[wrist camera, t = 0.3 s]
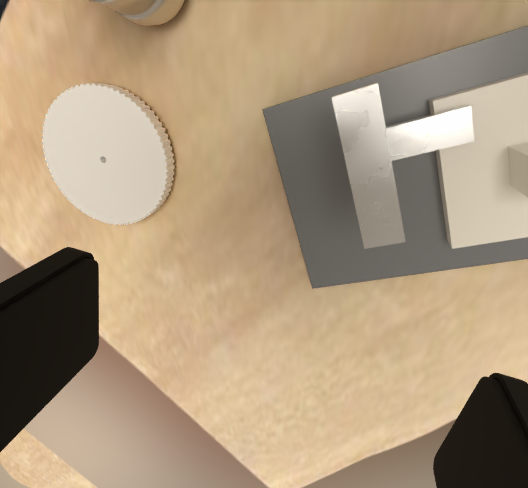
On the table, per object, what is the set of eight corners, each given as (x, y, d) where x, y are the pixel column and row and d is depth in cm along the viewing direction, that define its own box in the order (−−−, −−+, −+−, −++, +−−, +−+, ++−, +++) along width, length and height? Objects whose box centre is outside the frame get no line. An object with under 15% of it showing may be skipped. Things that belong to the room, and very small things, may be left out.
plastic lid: (172, 84, 35) (159, 84, 32) (184, 223, 40) (173, 231, 38) (46, 82, 38) (26, 82, 35) (74, 211, 43) (58, 218, 41)
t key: (454, 56, 27) (507, 43, 17) (466, 175, 30) (518, 223, 20) (342, 91, 30) (331, 97, 20) (363, 196, 32) (364, 248, 23)
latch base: (627, -6, 25) (642, -11, 23) (618, 237, 31) (630, 244, 29) (266, 108, 33) (262, 109, 32) (314, 281, 39) (312, 288, 38)
